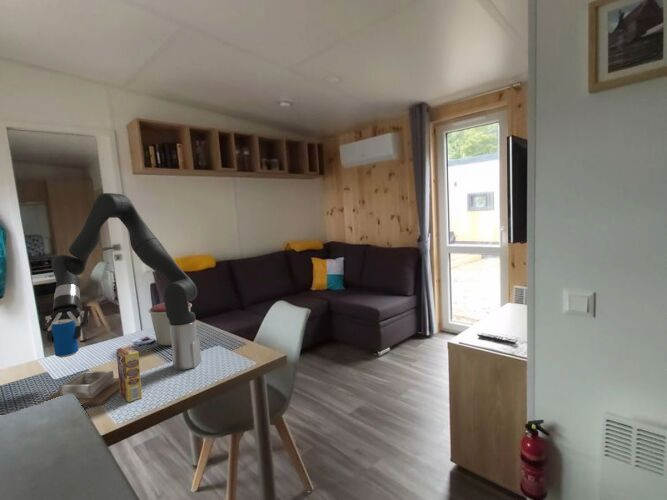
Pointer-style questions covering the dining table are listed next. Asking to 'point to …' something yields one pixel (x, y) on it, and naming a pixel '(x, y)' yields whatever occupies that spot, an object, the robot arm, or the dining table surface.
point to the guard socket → (90, 388)
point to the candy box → (129, 373)
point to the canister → (161, 323)
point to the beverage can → (64, 338)
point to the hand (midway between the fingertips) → (64, 339)
